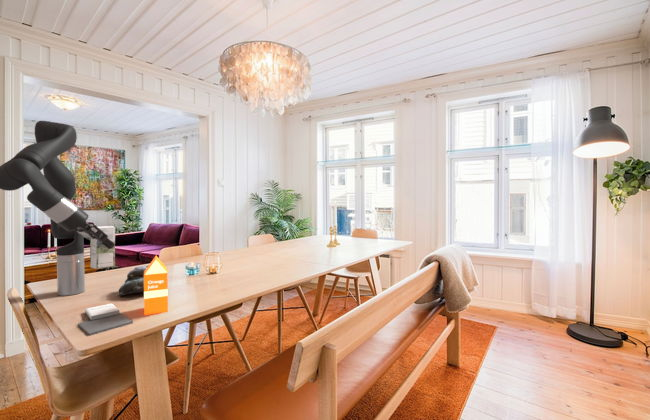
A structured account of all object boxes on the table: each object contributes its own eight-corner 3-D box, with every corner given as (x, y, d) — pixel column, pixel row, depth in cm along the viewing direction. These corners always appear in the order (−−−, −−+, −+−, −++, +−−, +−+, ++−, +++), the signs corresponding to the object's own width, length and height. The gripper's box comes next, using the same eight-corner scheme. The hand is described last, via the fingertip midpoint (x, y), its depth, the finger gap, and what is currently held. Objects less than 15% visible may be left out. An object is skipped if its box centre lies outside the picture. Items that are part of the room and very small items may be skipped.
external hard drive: (90, 321, 102) (85, 312, 111) (119, 314, 108) (112, 307, 117) (90, 316, 102) (85, 308, 111) (119, 309, 108) (112, 302, 117)
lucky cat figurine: (109, 297, 128) (114, 265, 133) (134, 300, 138) (138, 270, 144) (138, 290, 124) (141, 257, 130) (161, 293, 134) (163, 263, 140)
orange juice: (143, 315, 109) (143, 260, 108) (144, 307, 117) (144, 255, 116) (168, 311, 113) (167, 258, 112) (167, 304, 121) (167, 254, 120)
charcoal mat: (77, 325, 100) (77, 323, 100) (119, 314, 110) (119, 312, 110) (89, 335, 93) (89, 333, 93) (133, 322, 102) (133, 321, 102)
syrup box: (108, 264, 111) (108, 225, 111) (115, 266, 108) (115, 226, 108) (90, 267, 107) (89, 226, 106) (96, 269, 103) (95, 227, 103)
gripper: (85, 205, 97) (126, 239, 107) (68, 205, 104) (107, 236, 115) (64, 223, 92) (109, 256, 103) (48, 221, 100) (91, 252, 110)
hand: (108, 246), depth 109 cm, fingers closed on syrup box, 6 cm apart
